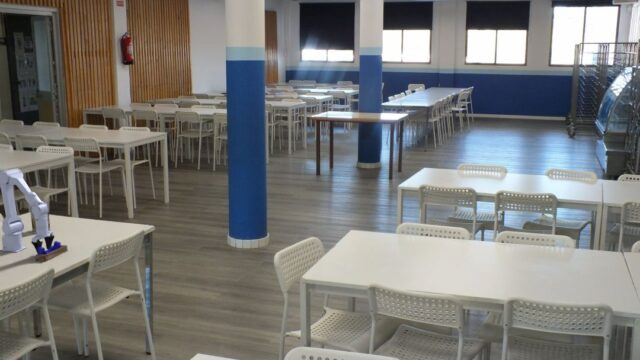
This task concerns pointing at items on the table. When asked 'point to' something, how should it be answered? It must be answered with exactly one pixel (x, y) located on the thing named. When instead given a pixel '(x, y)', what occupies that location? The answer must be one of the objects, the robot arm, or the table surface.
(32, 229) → the coffee box
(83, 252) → the table surface
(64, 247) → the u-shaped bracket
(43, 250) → the blue notched arch
